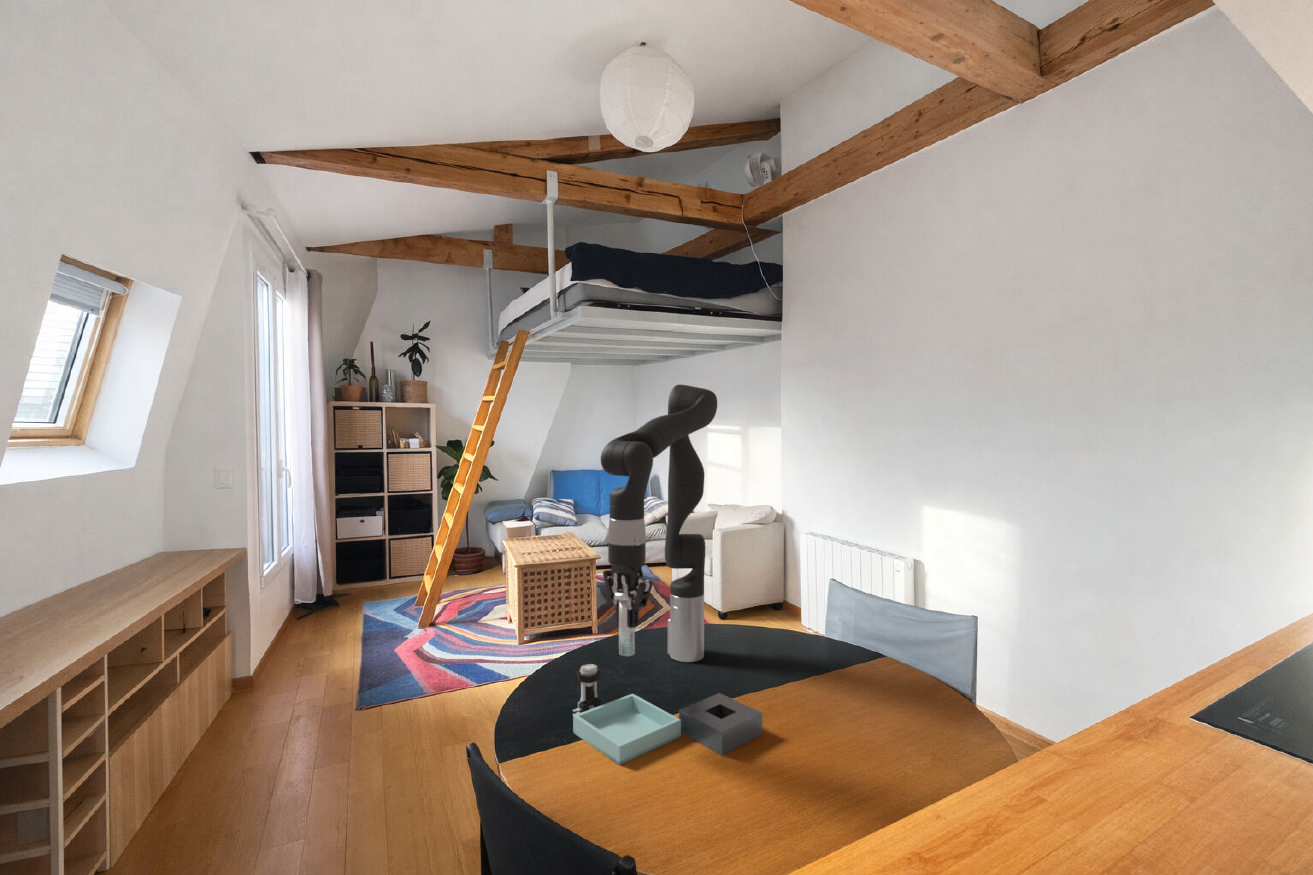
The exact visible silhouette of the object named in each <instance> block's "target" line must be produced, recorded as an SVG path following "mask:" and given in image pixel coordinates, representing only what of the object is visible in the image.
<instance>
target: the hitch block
mask: <svg viewBox="0 0 1313 875" xmlns="http://www.w3.org/2000/svg"><path fill="white" fill-rule="evenodd" d="M678 719H680V720H681V734H683V735H684V736H687V737H688V738H690V739H692V740H694V741H695V742H697V743H699V744H700V745H702V746H704V747H706V748H707V749H709V750H711V751H713V752H715V753H716V754H719V756H724V755H726V754H728V753H730V752H732V751H734V750H736V749H737V748H739V747H742V746H743V745H745V744H747V743H749V742H751V741H753V740H755V739H757V738H759V737H760V736H762V735H763V712H761V711H759V710H757V709H755V708H752V707H751V706H749V705H747V704H744V703H742V702H740V701H738V700H735V699H734V698H731V697H730V696H727V695H725V694H723V693H720V692H718V693H716V694H713V695H711V696H709V697H707V698H704V699H702V700H699V701H697V702H694V703H692V704H690V705H687V706H684V707H683V708H681V709H679V710H678Z"/></svg>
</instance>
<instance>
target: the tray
mask: <svg viewBox="0 0 1313 875" xmlns="http://www.w3.org/2000/svg"><path fill="white" fill-rule="evenodd" d="M572 723H573V724H572V725H573V726H572V731H573V734H575V735H576V736H577V737H579V739H582V740H583V742H586V743H587V744H589V745H590V746H592V747H593V748H594V749H596V750H598V752H600V753H602V754H603V755H604V756H605V757H607V758H608V759H610V760H612V761H613V762H614V763H616V764H617V765H618V766H621V765H623V764H625V763H628V762H630V761H632V760H634V759H637V758H639V757H640V756H643V755H645V754H647V753H649V752H651V751H654V750H655V749H658V748H660V747H662V746H664V745H667V744H668V743H671V742H673V741H675V740H677V739H679V738H681V737H682V735H681V734H682V733H681V720H680V719H679V717H677V716H675V715H673V714H671V713H669V712H667V711H666V710H663V709H662V708H661V707H658V706H656V705H654V704H653V703H651V702H649V701H647V700H645V699H644V698H642V697H640V696H639V695H636V694H634V693H631V694H628V695H625V696H623V697H620V698H617V699H614V700H612V701H609V702H607V703H604V704H601V706H598V707H595V708H593V709H590V710H587V711H585V712H582V713H579V714H577V715H576V714H574V716H573V715H572Z"/></svg>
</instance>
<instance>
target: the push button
mask: <svg viewBox="0 0 1313 875" xmlns="http://www.w3.org/2000/svg"><path fill="white" fill-rule="evenodd" d="M601 674H602V669H600V668H598V665H596V664H593V663H588V664H583V665H581V667H580V668H579V669H578V670H576V676H577V680H578V681H579V682H580V700H579V701H578V702H577V708H575V709H572V712H575V713H572V717H573V716H574V715H577V714H579V713H582V712H585V711H587V710H590V709H593V708H595V707H598V706H601V705H602V700H601V699H600V698H599V697H598V689H597V686H598V685H597V684H598V683H597V682H598V681H600V680H601Z"/></svg>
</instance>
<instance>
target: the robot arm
mask: <svg viewBox="0 0 1313 875" xmlns="http://www.w3.org/2000/svg"><path fill="white" fill-rule="evenodd" d="M667 403H668V405H667V414H666V415H665V414H663V415H659V416H658V417H654V418H652V419H650V420H649V421H647V422H646V423H645V424H643V425H642V426H640V427H639V428H638V429H636V430H635V431H632V432H627V433H626V434H623V435H621V436H618V437H616V438H614V439H612V440H610V441H609V442H607V444H606V445H605V446H604V447H603V449H602V451H601V453H600V465H601V467H602V470H604V472H606V473H607V474H609V475H611V476H617V477H618V476H619V477H628V479H627V482H626V484H625V486H623V487H618V488H617V487H616V488H614V489H613V490H611V491H610V495H609V522H608V529H607V535H608V536H607V537H608V539H607V540H608V541H607V544H608V547H607V548H608V549H607V552H608V553H607V554H608V559H607V560H608V564H610V565H611V568H610V569H607V570H603V572H602V575H603V579H604V585H605V588H606V591H607V593H606V594H607V597H608V599H609V600H612V602H613V604H614V605H615V607H614V609H615V612H614V613H615V614H614V615H615V622H616V623H617V624H619V600H617V599H615V598H614V592H620V591H624V595H625V596H626V597H627V598H629V601H627V605H628V609H627V626H628V627H629V628H634V627H635V628H637V627H638V626H639V622H640V621H639V613H640V612H639V611H640V610H639V609H640V608H645V607H646V606H647V604H648V602H649V598H650V595H651V591H652V588H653V583H654V582H653V581H652V580H647V579H645V577H644V572H643V569H642V568H643V565H644V564H645V563H646V558H647V557H646V544H647V542H646V531H647V530H646V523H645V522H646V521H645V497H646V492H647V487H648V484H649V481H650V476H651V473H652V469H653V466H654V458H656V457H658V456H659V455H660V454H661V453H663V452H664V451H665V450H666V449H668V447H669V457H668V458H669V460H668V461H669V462H668V463H669V464H668V476H667V479H668V481H667V520H666V522H667V523H666V533H665V543H664V559H665V560H664V561H665V564H666V566H667V567H668V568H670V569H676V570H678V569H679V570H681V569H683V570H684V569H691V570H690V572H689V573H687V574H685V575H684V576H682V577H679V578H676V579H674V580H672V581H671V583H670V587H669V598H670V599H669V603H670V605H669V614H670V615H669V618H668V619H667V655H669V657H670V658H671V659H672V660H675V661H678V662H682V663H695V662H698V661H701V660H703V658H704V656H705V566H706V565H705V564H706V541H705V538H704V535H702V534H700V533H681V529H682V527H683V525H684V523H685V522H686V520H687V519H688V518H689V516H690V515H691V514H692V513H693V511H694V510H695V509H696V508H697V506H698V505H699V503H700V502H701V500H702V499H703V496H704V492H705V491H704V490H705V468H704V466H703V463H702V461H701V460H700V457H699V455H698V453H697V451H696V450H695V448H694V446H693V444H692V441H691V438H690V437H689V436H690V435H691V434H692V433H695V432H697V431H699V430H701V429H703V428H705V427H707V426H708V425H710V424H711V423H712V421H714V419H715V417H716V414H717V411H718V398H717V395H716V394H715V392H714V391H712V390H710V389H707V388H702V387H697V386H692V385H687V384H676V385H674V386H673V388H671V391H670V393H669V397H668V402H667ZM631 591H635V592H633V593H630V592H631ZM633 597H635V600H634V603H633V601H632V598H633Z"/></svg>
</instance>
